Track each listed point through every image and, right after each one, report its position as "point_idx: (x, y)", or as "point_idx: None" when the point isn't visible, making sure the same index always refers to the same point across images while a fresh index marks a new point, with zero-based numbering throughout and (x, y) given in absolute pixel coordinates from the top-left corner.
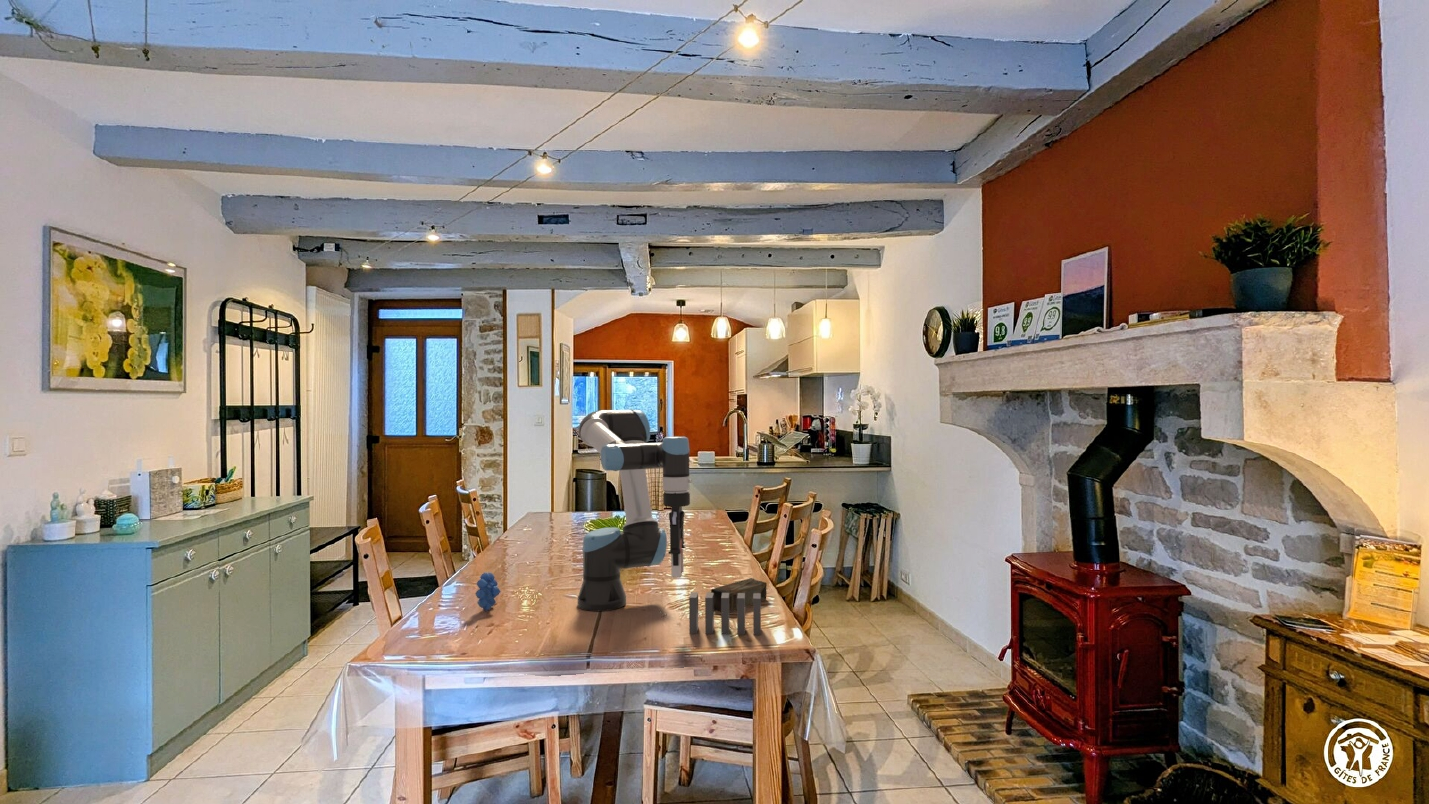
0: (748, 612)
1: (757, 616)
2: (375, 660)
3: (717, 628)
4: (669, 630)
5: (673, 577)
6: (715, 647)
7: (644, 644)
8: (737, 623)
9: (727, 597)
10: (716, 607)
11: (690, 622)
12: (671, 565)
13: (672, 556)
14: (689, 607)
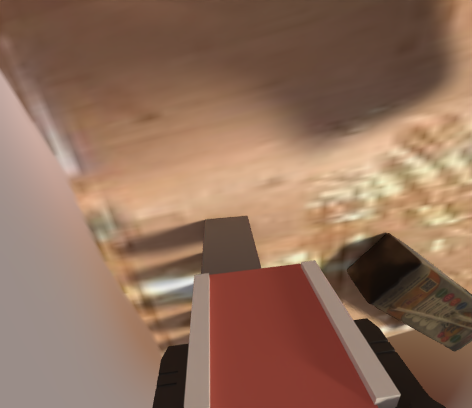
0: (349, 301)
1: None
2: None
3: None
4: (221, 169)
5: (210, 276)
6: (134, 280)
7: (102, 127)
8: None
9: None
10: (374, 249)
11: (204, 235)
12: (190, 329)
13: (185, 405)
14: (202, 257)
